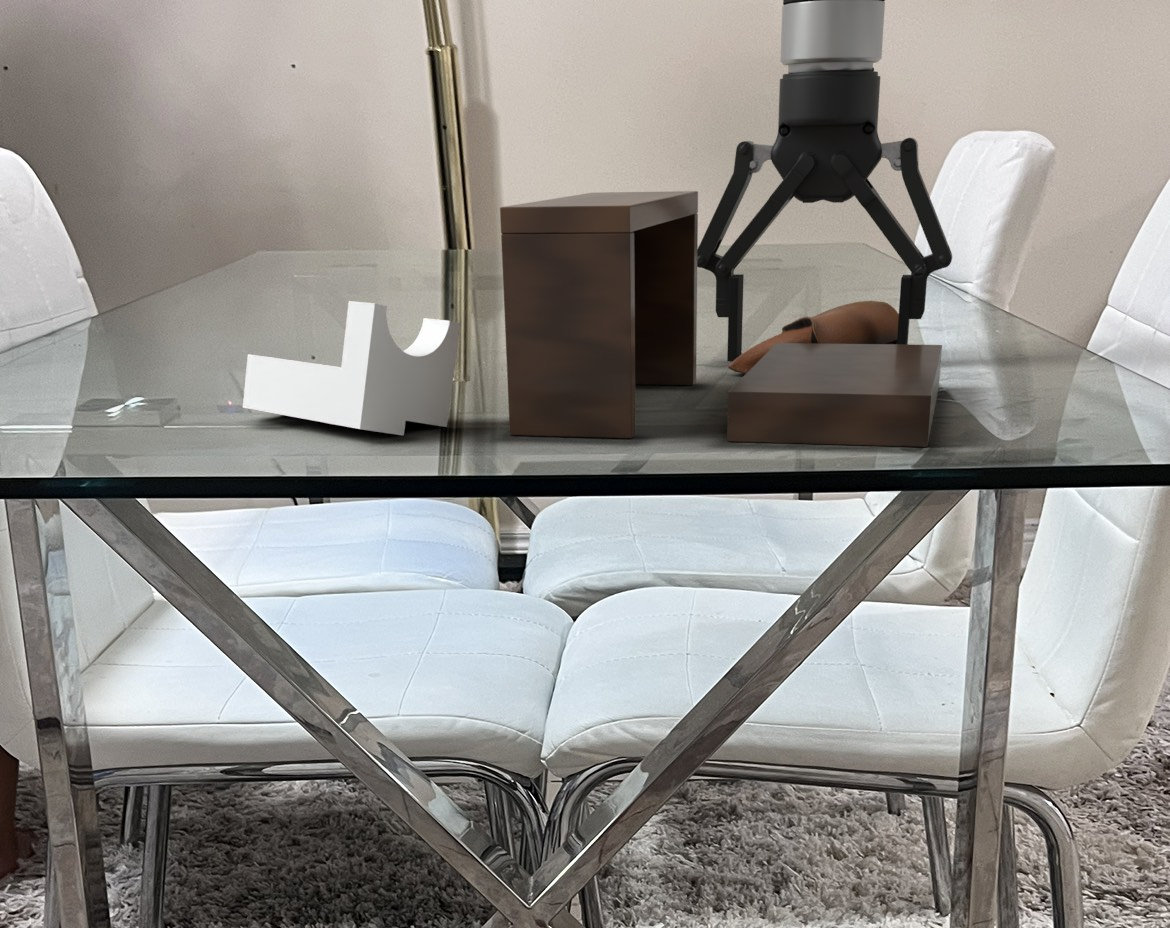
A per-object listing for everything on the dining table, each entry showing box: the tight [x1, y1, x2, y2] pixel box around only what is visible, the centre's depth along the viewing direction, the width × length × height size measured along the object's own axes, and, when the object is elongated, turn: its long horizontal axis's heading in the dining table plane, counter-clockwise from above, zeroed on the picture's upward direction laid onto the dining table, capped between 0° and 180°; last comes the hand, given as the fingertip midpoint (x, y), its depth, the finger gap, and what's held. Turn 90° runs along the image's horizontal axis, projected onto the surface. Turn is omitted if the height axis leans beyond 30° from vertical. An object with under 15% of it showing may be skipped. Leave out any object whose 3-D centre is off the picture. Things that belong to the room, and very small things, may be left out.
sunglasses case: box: [727, 300, 899, 375], centre depth 114 cm, size 18×7×7 cm, turn 149°
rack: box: [499, 190, 943, 448], centre depth 93 cm, size 26×22×14 cm
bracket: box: [242, 300, 462, 436], centre depth 93 cm, size 13×7×8 cm, turn 46°
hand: (816, 361), depth 114 cm, fingers open, 13 cm apart
